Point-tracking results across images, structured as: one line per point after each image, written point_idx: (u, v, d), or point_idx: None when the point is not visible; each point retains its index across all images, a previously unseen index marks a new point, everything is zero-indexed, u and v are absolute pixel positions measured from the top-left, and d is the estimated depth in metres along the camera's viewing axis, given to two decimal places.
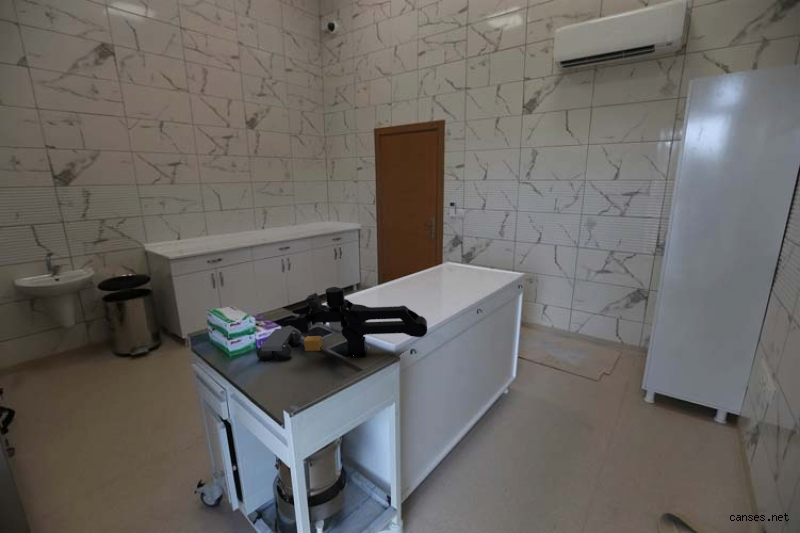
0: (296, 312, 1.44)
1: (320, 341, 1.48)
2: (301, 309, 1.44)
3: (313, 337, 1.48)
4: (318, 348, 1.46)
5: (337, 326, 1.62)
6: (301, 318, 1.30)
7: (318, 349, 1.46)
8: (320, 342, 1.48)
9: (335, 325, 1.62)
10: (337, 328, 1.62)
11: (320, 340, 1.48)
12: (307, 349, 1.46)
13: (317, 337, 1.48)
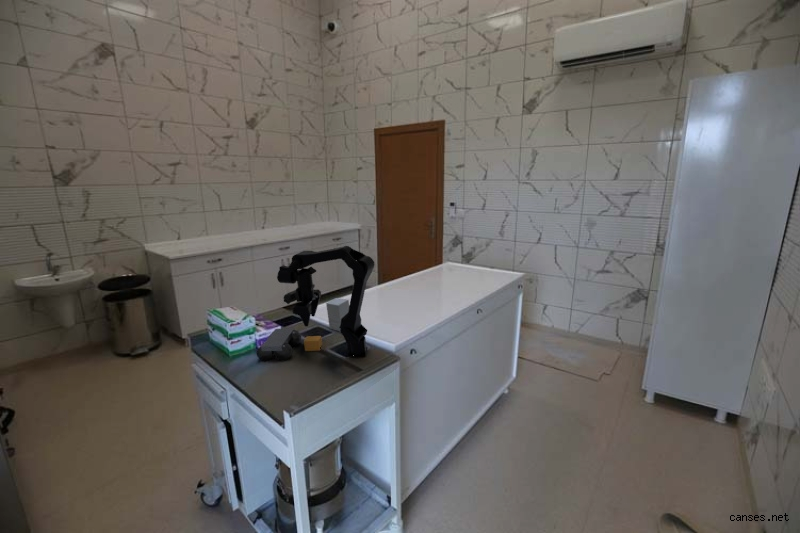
0: (313, 312, 1.49)
1: (320, 341, 1.48)
2: (310, 307, 1.49)
3: (313, 337, 1.48)
4: (318, 348, 1.46)
5: (337, 326, 1.62)
6: (292, 311, 1.34)
7: (318, 349, 1.46)
8: (320, 342, 1.48)
9: (335, 325, 1.62)
10: (337, 328, 1.62)
11: (320, 340, 1.48)
12: (307, 349, 1.46)
13: (317, 337, 1.48)
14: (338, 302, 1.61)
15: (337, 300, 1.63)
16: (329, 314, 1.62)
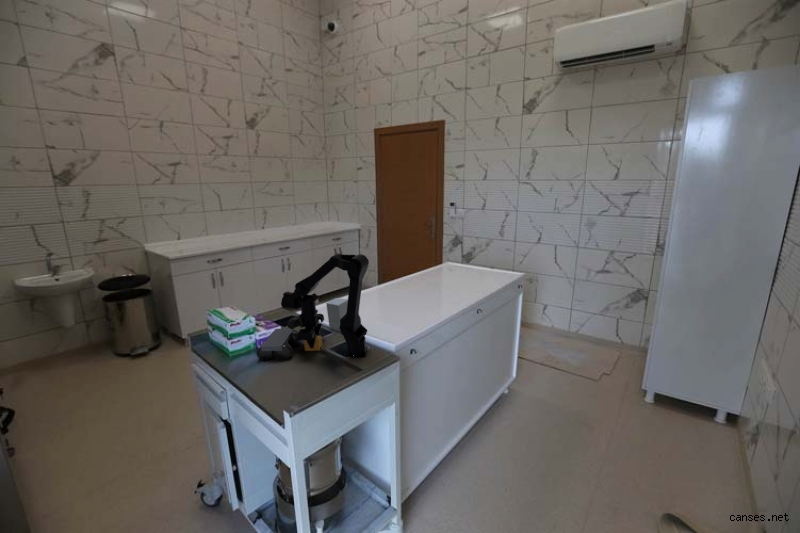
0: None
1: (320, 341, 1.48)
2: None
3: None
4: (318, 348, 1.46)
5: (337, 326, 1.62)
6: (296, 337, 1.37)
7: (318, 349, 1.46)
8: (320, 342, 1.48)
9: (335, 325, 1.62)
10: (337, 328, 1.62)
11: (320, 340, 1.48)
12: (307, 349, 1.46)
13: (317, 337, 1.48)
14: (338, 302, 1.61)
15: (337, 300, 1.63)
16: (329, 314, 1.62)
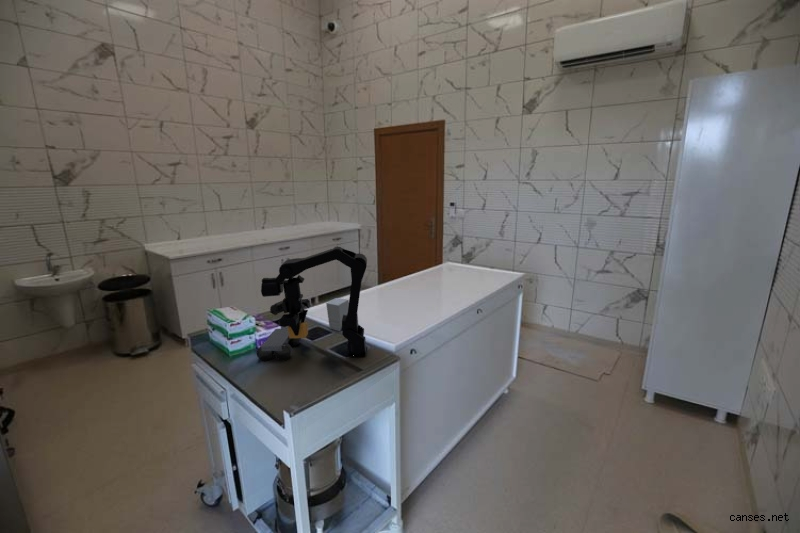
0: None
1: (305, 328, 1.38)
2: None
3: None
4: (303, 335, 1.36)
5: (337, 326, 1.62)
6: (279, 323, 1.28)
7: (303, 336, 1.37)
8: (305, 329, 1.38)
9: (335, 325, 1.62)
10: (337, 328, 1.62)
11: (306, 327, 1.39)
12: (291, 336, 1.37)
13: (302, 323, 1.38)
14: (338, 302, 1.61)
15: (337, 300, 1.63)
16: (329, 314, 1.62)
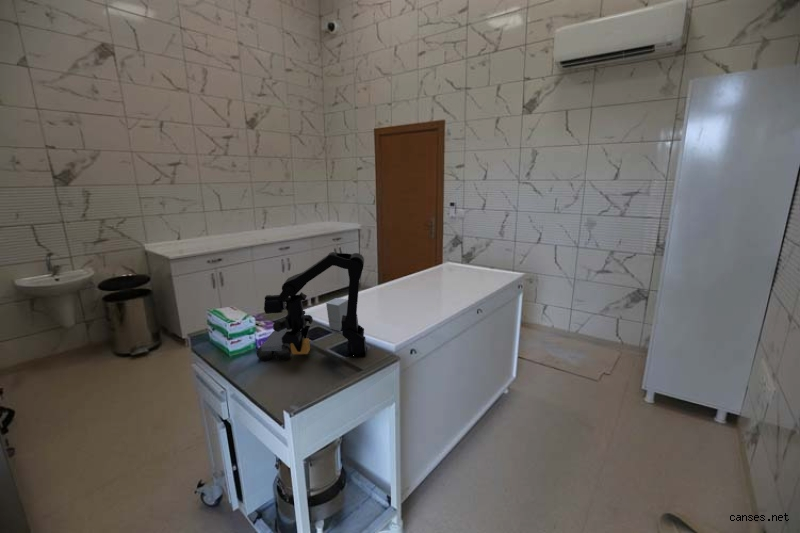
0: None
1: (308, 344, 1.40)
2: None
3: None
4: (305, 351, 1.38)
5: (337, 326, 1.62)
6: (282, 340, 1.30)
7: (305, 352, 1.38)
8: (308, 345, 1.40)
9: (335, 325, 1.62)
10: (337, 328, 1.62)
11: (308, 343, 1.41)
12: (294, 352, 1.39)
13: (304, 339, 1.40)
14: (338, 302, 1.61)
15: (337, 300, 1.63)
16: (329, 314, 1.62)
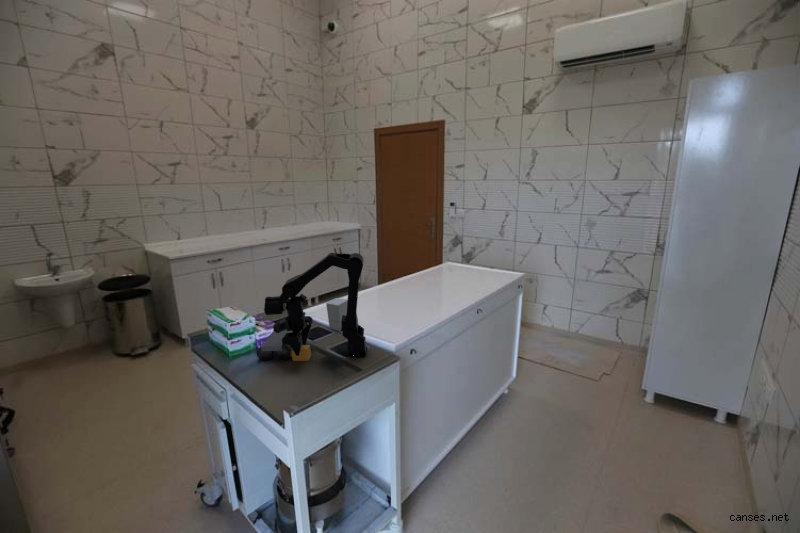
0: (304, 341, 1.44)
1: (309, 351, 1.41)
2: (301, 336, 1.43)
3: (301, 346, 1.41)
4: (306, 358, 1.39)
5: (337, 326, 1.62)
6: (282, 341, 1.30)
7: (306, 359, 1.39)
8: (309, 352, 1.41)
9: (335, 325, 1.62)
10: (337, 328, 1.62)
11: (309, 350, 1.41)
12: (295, 359, 1.39)
13: (305, 346, 1.41)
14: (338, 302, 1.61)
15: (337, 300, 1.63)
16: (329, 314, 1.62)
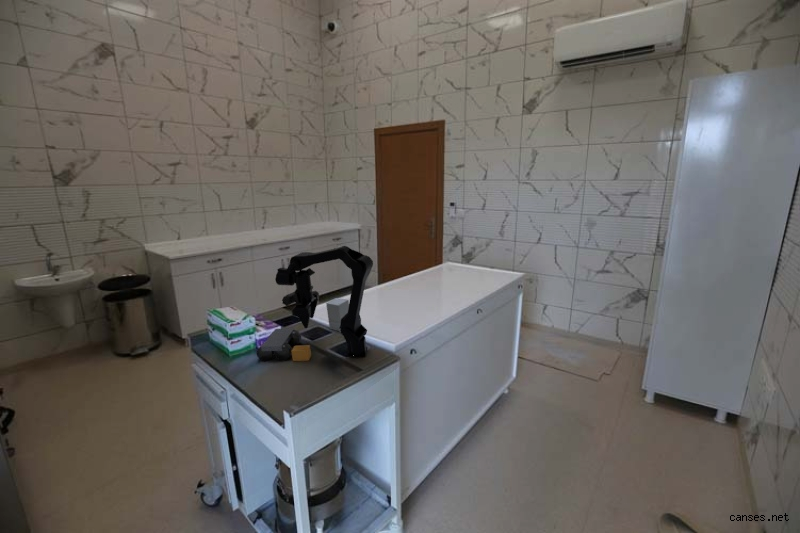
0: (312, 314, 1.49)
1: (309, 351, 1.41)
2: None
3: (301, 346, 1.41)
4: (306, 358, 1.39)
5: (337, 326, 1.62)
6: (292, 313, 1.34)
7: (306, 359, 1.39)
8: (309, 352, 1.41)
9: (335, 325, 1.62)
10: (337, 328, 1.62)
11: (309, 350, 1.41)
12: (295, 359, 1.39)
13: (305, 346, 1.41)
14: (338, 302, 1.61)
15: (337, 300, 1.63)
16: (329, 314, 1.62)
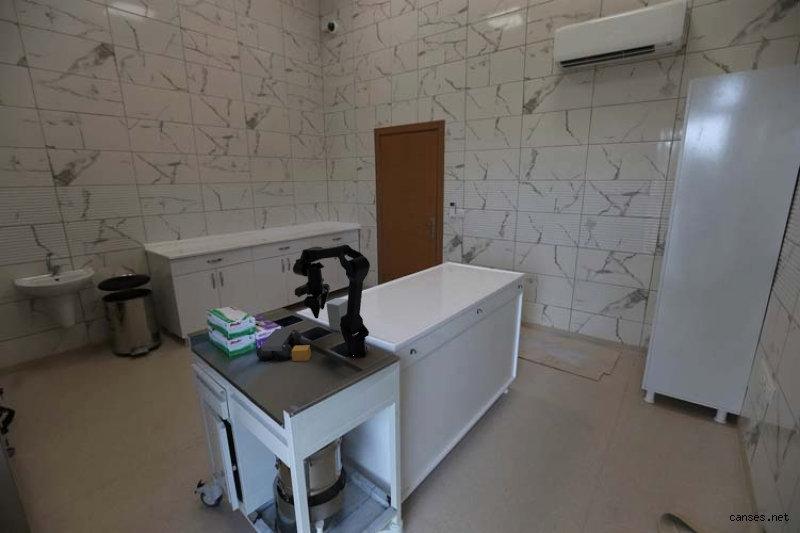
0: (322, 305, 1.55)
1: (309, 350, 1.41)
2: None
3: (301, 346, 1.41)
4: (306, 358, 1.39)
5: (337, 326, 1.62)
6: (303, 303, 1.41)
7: (306, 359, 1.39)
8: (309, 352, 1.41)
9: (335, 325, 1.62)
10: (337, 328, 1.62)
11: (309, 350, 1.41)
12: (295, 359, 1.39)
13: (305, 346, 1.41)
14: (338, 302, 1.61)
15: (337, 300, 1.63)
16: (329, 314, 1.62)
